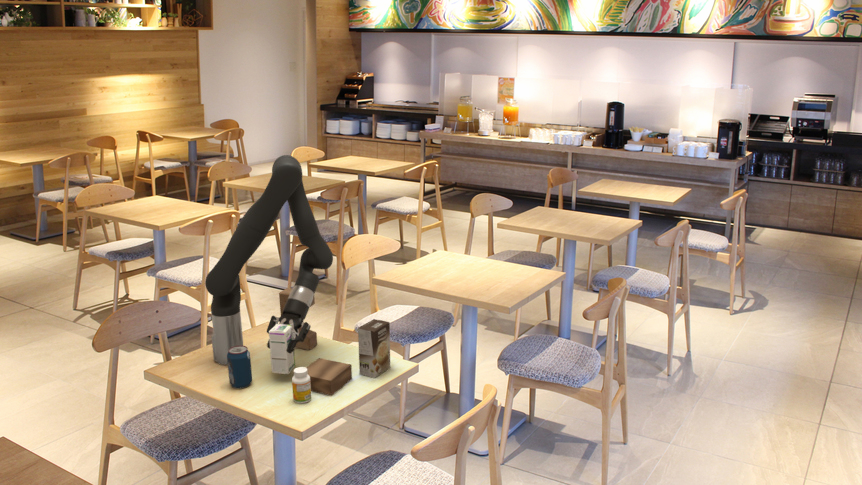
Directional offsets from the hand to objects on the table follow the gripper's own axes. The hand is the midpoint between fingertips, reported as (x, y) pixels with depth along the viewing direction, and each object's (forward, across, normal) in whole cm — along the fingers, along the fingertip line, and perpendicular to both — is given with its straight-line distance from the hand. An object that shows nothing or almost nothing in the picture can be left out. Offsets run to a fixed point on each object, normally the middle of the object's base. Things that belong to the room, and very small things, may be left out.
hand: (279, 350), depth 226 cm
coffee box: (-5, +24, +19) cm, 32 cm away
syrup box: (+4, 0, +6) cm, 8 cm away
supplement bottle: (+13, +14, +2) cm, 19 cm away
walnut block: (+5, +14, +9) cm, 18 cm away
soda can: (+13, -10, +2) cm, 16 cm away
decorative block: (-10, -9, +25) cm, 28 cm away
